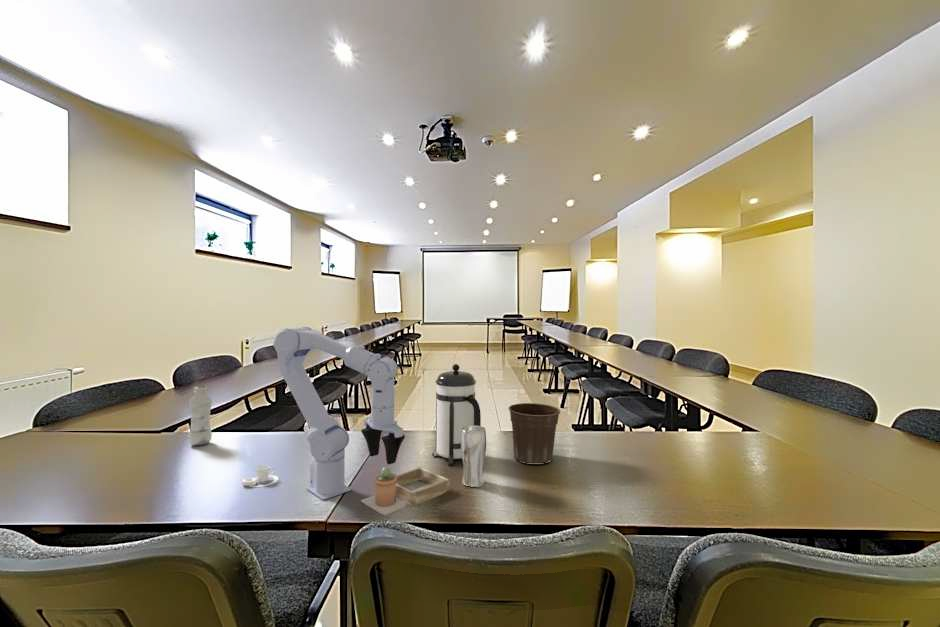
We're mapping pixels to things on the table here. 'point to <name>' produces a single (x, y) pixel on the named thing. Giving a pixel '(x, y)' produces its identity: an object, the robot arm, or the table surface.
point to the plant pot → (533, 431)
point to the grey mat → (382, 510)
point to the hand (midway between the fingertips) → (382, 459)
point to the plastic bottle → (200, 417)
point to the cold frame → (422, 495)
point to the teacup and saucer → (260, 477)
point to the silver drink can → (473, 454)
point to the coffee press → (454, 411)
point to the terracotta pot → (385, 488)
